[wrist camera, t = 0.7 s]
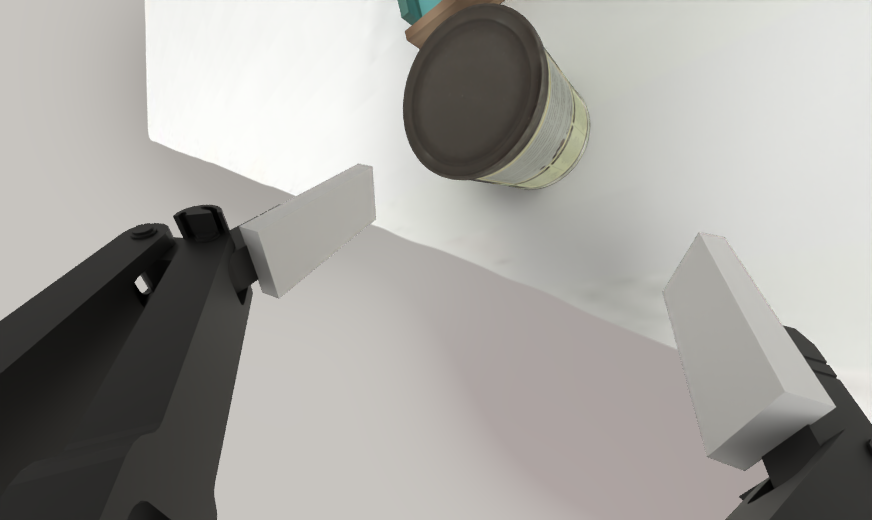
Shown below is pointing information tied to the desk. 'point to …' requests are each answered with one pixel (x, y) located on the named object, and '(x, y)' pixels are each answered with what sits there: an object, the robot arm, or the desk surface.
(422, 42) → the slot rack
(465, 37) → the coffee can
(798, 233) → the desk surface
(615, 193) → the desk surface
